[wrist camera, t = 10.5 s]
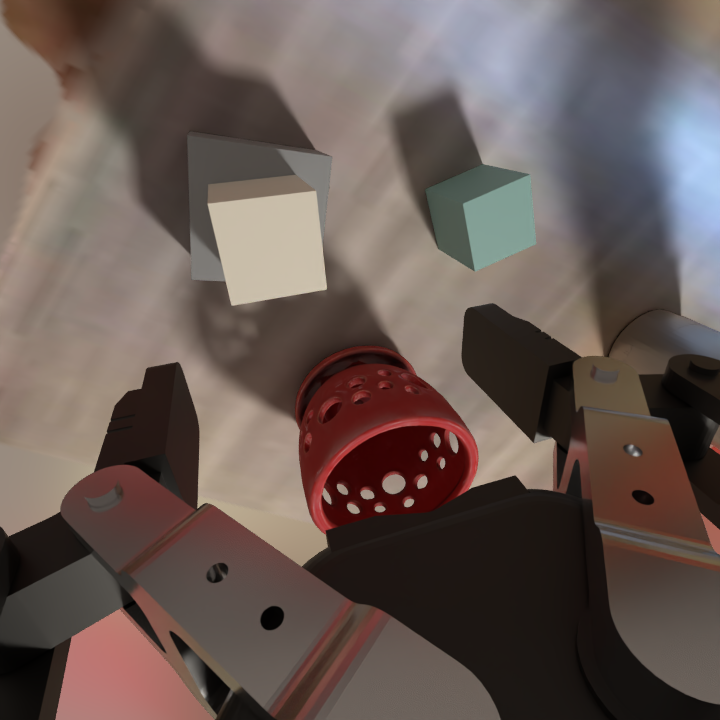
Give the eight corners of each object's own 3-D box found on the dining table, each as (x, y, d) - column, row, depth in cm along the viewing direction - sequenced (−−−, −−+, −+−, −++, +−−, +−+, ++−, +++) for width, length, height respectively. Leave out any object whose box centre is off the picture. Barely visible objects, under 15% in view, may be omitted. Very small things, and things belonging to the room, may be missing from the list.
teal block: (482, 164, 34) (530, 174, 29) (491, 225, 36) (536, 244, 32) (424, 189, 33) (462, 203, 28) (438, 248, 36) (474, 271, 31)
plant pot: (257, 375, 37) (276, 474, 27) (396, 309, 38) (464, 382, 28) (316, 471, 44) (348, 576, 34) (431, 414, 45) (494, 501, 35)
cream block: (295, 174, 26) (316, 190, 21) (306, 257, 28) (327, 289, 23) (208, 184, 25) (207, 203, 20) (227, 269, 27) (231, 305, 22)
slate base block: (314, 149, 30) (332, 156, 26) (304, 263, 34) (318, 285, 29) (189, 130, 27) (187, 135, 23) (193, 256, 31) (191, 279, 27)
